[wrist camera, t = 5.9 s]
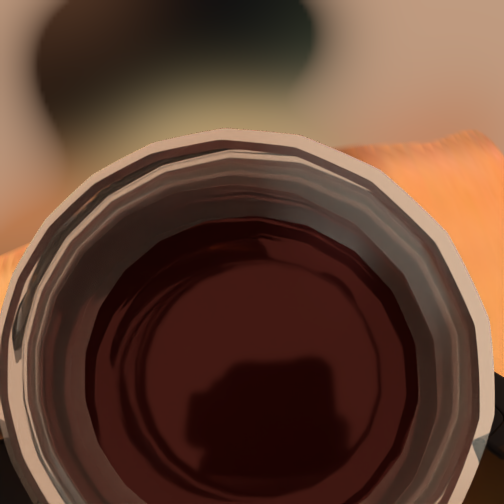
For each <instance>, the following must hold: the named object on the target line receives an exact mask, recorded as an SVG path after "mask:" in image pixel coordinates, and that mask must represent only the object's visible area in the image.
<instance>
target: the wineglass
mask: <svg viewBox="0 0 504 504" xmlns="http://www.w3.org/2000/svg"><path fill="white" fill-rule="evenodd" d="M494 411H495V384H494V362H493V349H492V338H491V329H490V322H489V317H488V315H487V313H486V310H485V308H484V305H483V303H482V301H481V298H480V296H479V294H478V292H477V289H476V287H475V285H474V283H473V281H472V279H471V277H470V275H469V273H468V270H467V268H466V266H465V264H464V263H463V261H462V259H461V257H460V255H459V253H458V251H457V249H456V247H455V245H454V244H453V242H452V240H451V238H450V236H449V235H448V233H447V232H446V231H445V230H444V229H443V228H442V227H441V226H440V225H439V224H438V223H437V222H436V221H435V220H434V219H433V218H432V217H431V216H430V215H429V214H428V213H427V212H426V211H425V210H424V209H423V208H422V207H421V206H420V205H419V204H418V203H417V202H416V201H415V200H414V199H413V198H412V197H410V196H409V195H408V194H407V193H406V192H405V191H404V190H403V189H402V188H401V187H399V186H398V185H397V184H396V183H395V182H394V181H393V180H392V179H390V178H389V177H388V176H387V175H386V174H385V173H383V172H382V171H381V170H380V169H378V168H376V167H373V166H371V165H369V164H367V163H365V162H363V161H361V160H358V159H356V158H354V157H352V156H350V155H347V154H345V153H343V152H341V151H338V150H336V149H334V148H331V147H329V146H326V145H324V144H322V143H319V142H317V141H314V140H312V139H309V138H307V137H304V136H302V135H294V134H285V133H276V132H267V131H256V130H244V129H229V128H220V129H215V130H209V131H205V132H199V133H194V134H189V135H184V136H179V137H175V138H171V139H166V140H162V141H158V142H154V143H151V144H149V145H147V146H145V147H143V148H141V149H139V150H137V151H135V152H133V153H131V154H129V155H127V156H125V157H123V158H121V159H120V160H118V161H116V162H114V163H112V164H110V165H109V166H107V167H105V168H103V169H101V170H100V171H98V172H96V173H94V174H93V175H91V176H90V177H89V178H88V179H87V180H86V181H85V182H83V183H82V185H80V186H79V187H78V188H77V189H76V190H75V191H74V192H73V193H72V194H71V195H69V196H68V197H67V198H66V199H65V201H63V202H62V203H61V204H60V205H59V206H58V207H57V208H56V209H55V210H54V211H53V212H52V213H51V214H50V215H49V216H48V217H47V218H46V219H45V221H44V222H43V224H42V225H41V227H40V229H39V230H38V232H37V233H36V235H35V236H34V238H33V239H32V241H31V243H30V244H29V246H28V248H27V249H26V251H25V253H24V254H23V256H22V258H21V260H20V261H19V263H18V265H17V267H16V269H15V270H14V272H13V274H12V277H11V280H10V283H9V286H8V289H7V293H6V296H5V299H4V303H3V306H2V310H1V313H0V426H1V430H2V434H3V438H4V442H5V445H6V449H7V452H8V455H9V459H10V461H11V463H12V465H13V467H14V469H15V471H16V473H17V475H18V477H19V479H20V481H21V483H22V484H23V486H24V488H25V490H26V492H27V493H28V495H29V497H30V498H31V500H32V502H33V503H34V504H462V502H463V500H464V498H465V496H466V494H467V492H468V489H469V487H470V485H471V482H472V480H473V478H474V475H475V473H476V470H477V468H478V465H479V462H480V460H481V457H482V454H483V451H484V448H485V445H486V442H487V439H488V436H489V433H490V429H491V426H492V422H493V419H494Z"/></svg>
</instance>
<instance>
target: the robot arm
mask: <svg viewBox="0 0 504 504" xmlns="http://www.w3.org/2000/svg"><path fill="white" fill-rule="evenodd" d="M494 384H495V411H494V419H493V422H492V426H491V429H490V433H489V436H488V439H487V442H486V445H485V448H484V451H483V454H482V457H481V460H480V462H479V465H478V468H477V470H476V473H475V475H474V478H473V480H472V482H471V485H470V487H469V489H468V492H467V494H466V496H465V498H464V500H463V502H462V504H504V377H502V376H501V375H499V374H498V373H496V372H494ZM0 504H34V503H33V502H32V500H31V498H30V497H29V495H28V493H27V492H26V490H25V488H24V486H23V484H22V483H21V481H20V479H19V477H18V475H17V473H16V471H15V469H14V467H13V465H12V463H11V461H10V459H9V455H8V452H7V449H6V445H5V442H4V438H3V434H2V430H1V426H0Z"/></svg>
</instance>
